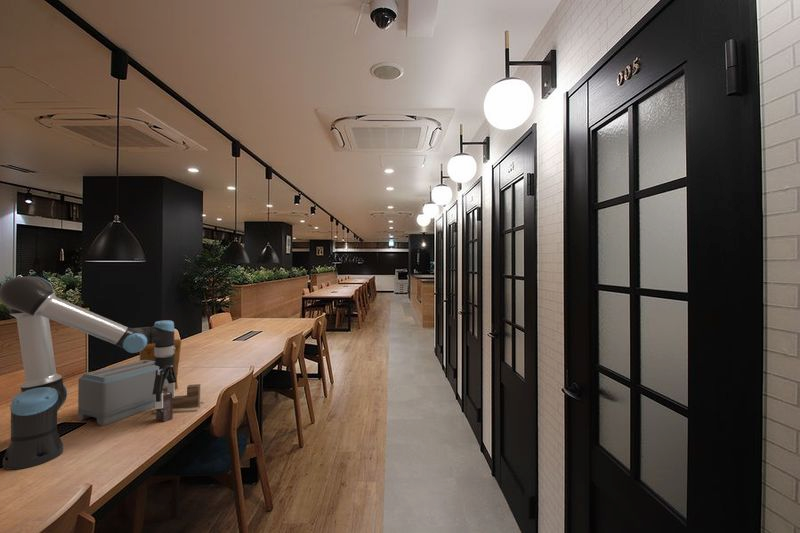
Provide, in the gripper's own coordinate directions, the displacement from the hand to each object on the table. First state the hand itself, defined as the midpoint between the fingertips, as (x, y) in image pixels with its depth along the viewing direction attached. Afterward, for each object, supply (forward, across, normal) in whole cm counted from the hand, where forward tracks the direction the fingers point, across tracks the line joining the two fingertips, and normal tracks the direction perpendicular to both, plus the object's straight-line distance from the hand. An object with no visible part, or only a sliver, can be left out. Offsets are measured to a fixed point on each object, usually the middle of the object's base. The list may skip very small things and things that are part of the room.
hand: (165, 402), depth 162 cm
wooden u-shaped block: (+8, +12, -2) cm, 14 cm away
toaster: (+8, +16, +21) cm, 28 cm away
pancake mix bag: (+8, +41, +16) cm, 45 cm away
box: (+8, 0, 0) cm, 8 cm away
